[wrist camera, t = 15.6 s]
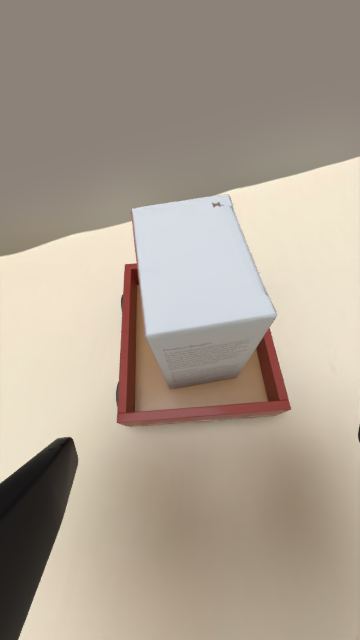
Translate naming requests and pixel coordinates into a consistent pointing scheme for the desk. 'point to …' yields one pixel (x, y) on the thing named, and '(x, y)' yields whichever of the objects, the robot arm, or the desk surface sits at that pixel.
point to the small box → (198, 290)
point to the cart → (196, 400)
